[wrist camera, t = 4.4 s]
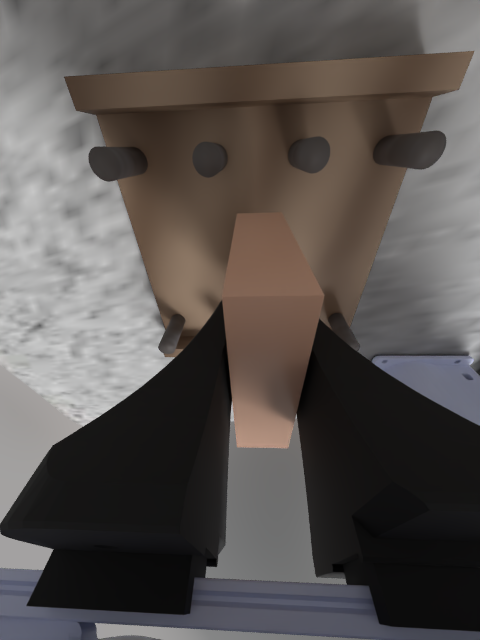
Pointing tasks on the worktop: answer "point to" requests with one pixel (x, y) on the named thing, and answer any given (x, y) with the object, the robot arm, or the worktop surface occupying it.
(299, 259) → the pink square slab
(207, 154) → the rack
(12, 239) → the worktop surface
